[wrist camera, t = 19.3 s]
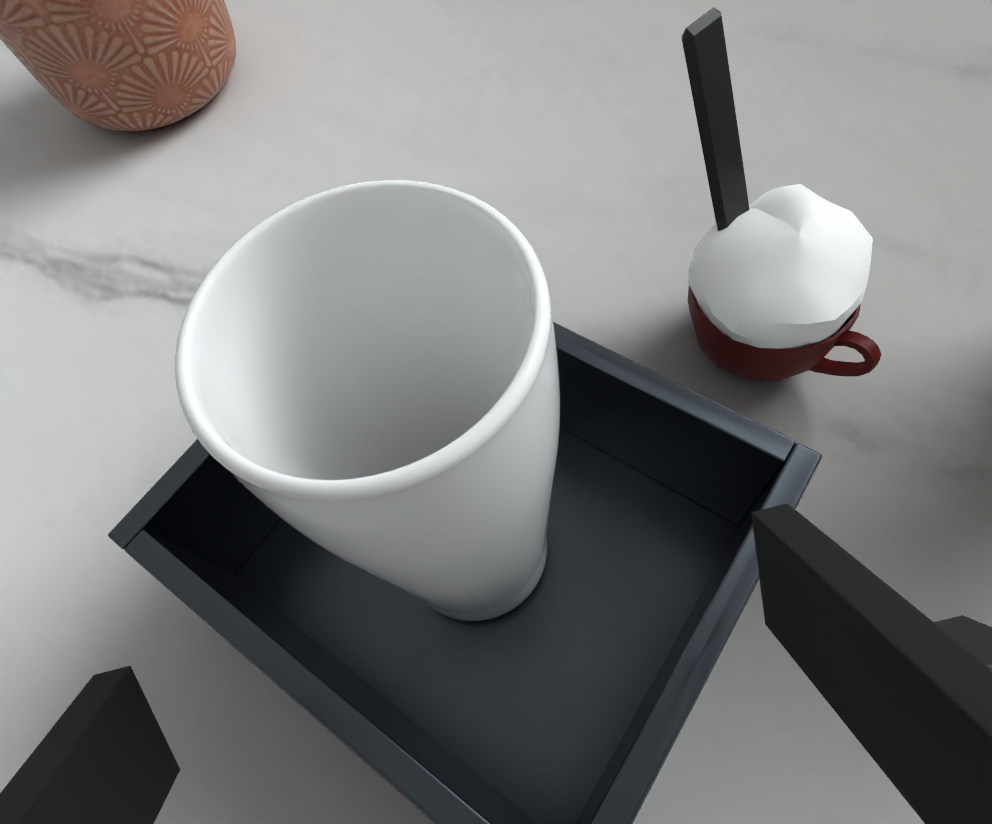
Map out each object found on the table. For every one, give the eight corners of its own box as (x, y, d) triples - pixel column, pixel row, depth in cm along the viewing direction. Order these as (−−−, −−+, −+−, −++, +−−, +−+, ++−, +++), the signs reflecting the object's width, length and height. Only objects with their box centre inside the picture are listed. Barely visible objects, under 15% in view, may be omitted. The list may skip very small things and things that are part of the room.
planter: (230, 6, 45) (135, -197, 35) (280, 103, 39) (183, -107, 29) (58, 72, 43) (-90, -121, 34) (83, 183, 38) (-85, -10, 28)
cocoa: (876, 393, 26) (1081, 150, 15) (735, 446, 26) (845, 235, 15) (755, 233, 30) (849, -41, 20) (633, 276, 30) (663, 21, 20)
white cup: (512, 683, 22) (413, 583, 9) (355, 588, 24) (84, 393, 11) (598, 514, 24) (623, 235, 11) (448, 441, 26) (320, 136, 13)
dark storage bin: (213, 584, 25) (105, 535, 20) (421, 337, 30) (384, 238, 24) (572, 885, 20) (570, 944, 14) (764, 525, 24) (824, 454, 18)
